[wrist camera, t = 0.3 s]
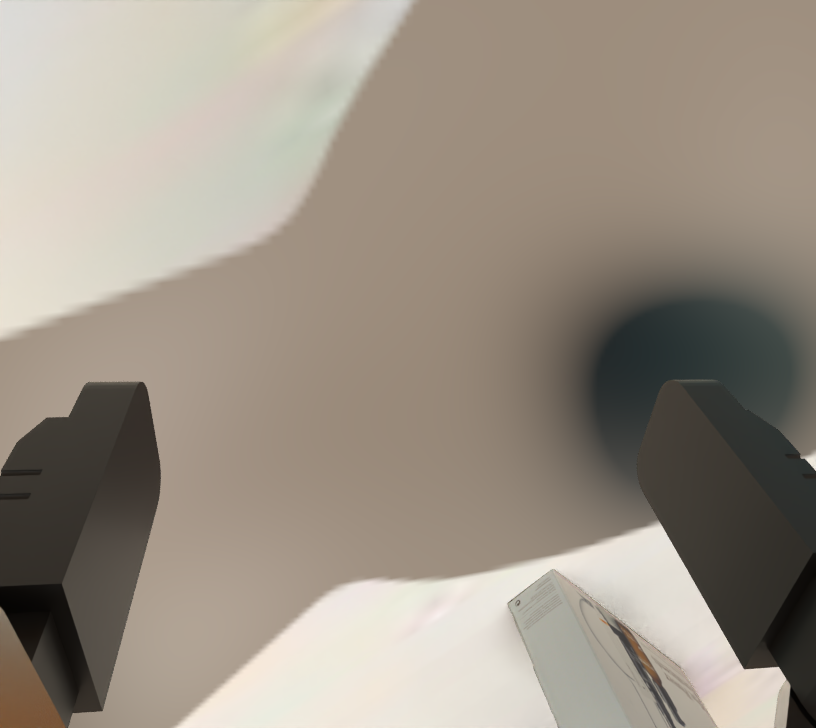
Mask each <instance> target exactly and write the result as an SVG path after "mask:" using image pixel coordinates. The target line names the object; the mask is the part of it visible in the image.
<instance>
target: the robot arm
mask: <svg viewBox="0 0 816 728" xmlns="http://www.w3.org/2000/svg"><path fill="white" fill-rule="evenodd" d="M637 474H638V480H639V484H640V486H641V489H642V491H643V493H644V495H645V497H646V498H647V500H648V502H649V504H650V505H651V507H652V509H653V511H654V512H655V514H656V516H657V518H658V519H659V521H660V523H661V525H662V526H663V528H664V530H665V532H666V533H667V535H668V537H669V539H670V540H671V542H672V544H673V546H674V547H675V549H676V551H677V553H678V554H679V556H680V558H681V560H682V561H683V563H684V565H685V567H686V568H687V570H688V572H689V574H690V575H691V577H692V579H693V581H694V582H695V584H696V586H697V588H698V589H699V591H700V593H701V595H702V596H703V598H704V600H705V602H706V603H707V605H708V607H709V609H710V610H711V612H712V614H713V616H714V617H715V619H716V621H717V623H718V624H719V626H720V628H721V630H722V631H723V633H724V635H725V637H726V638H727V640H728V642H729V644H730V645H731V647H732V649H733V651H734V652H735V654H736V656H737V658H738V659H739V661H740V663H741V665H742V666H743V668H744V669H754V668H768V667H779V668H780V669H781V671H782V672H783V674H784V676H785V677H786V681H785V682H784V684H783V685H782V687H781V689H780V691H779V694H778V699H777V707H776V715H775V723H774V728H816V471H815V470H814V468H813V467H812V466H811V465H810V464H809V463H808V462H807V461H806V460H805V459H801V458H800V453H799V452H798V451H797V450H796V449H795V448H794V446H793V445H792V444H791V443H790V442H789V441H788V440H787V439H786V438H785V437H784V435H783V434H782V433H781V432H780V431H779V430H778V429H776V428H775V427H773V426H772V425H770V424H769V423H767V422H766V421H764V420H763V419H761V418H760V417H758V416H757V415H755V414H754V413H752V412H751V411H749V410H745V409H744V408H743V407H742V405H740V403H739V402H738V401H737V400H736V399H735V398H734V397H733V395H732V394H731V393H730V392H729V391H728V390H727V388H726V387H725V386H724V385H723V384H722V383H721V382H719V381H717V380H669V381H667V382H665V383H664V385H663V386H662V387H661V389H660V391H659V394H658V397H657V400H656V403H655V406H654V408H653V411H652V414H651V417H650V420H649V423H648V426H647V429H646V432H645V435H644V438H643V441H642V444H641V447H640V450H639V453H638V458H637ZM160 479H161V472H160V460H159V454H158V448H157V442H156V437H155V431H154V425H153V419H152V414H151V407H150V401H149V396H148V391H147V388H146V386H145V384H144V383H143V382H88V383H86V385H84V387H83V389H82V391H81V393H80V395H79V397H78V399H77V401H76V403H75V405H74V407H73V409H72V411H71V413H70V415H69V417H56V418H46V419H45V420H43V421H42V422H41V423H40V424H38V425H37V426H36V427H35V428H34V429H32V430H31V431H30V432H29V433H28V434H26V435H25V436H24V437H23V438H21V439H20V440H19V441H18V442H17V443H16V445H15V447H14V449H13V450H12V452H11V454H10V456H9V457H8V459H7V461H6V463H5V465H4V466H3V468H2V470H1V476H0V728H68V726H69V723H70V719H71V716H72V713H81V712H96V711H103V707H104V704H105V700H106V696H107V692H108V688H109V685H110V681H111V677H112V674H113V670H114V666H115V662H116V659H117V655H118V651H119V647H120V644H121V640H122V636H123V632H124V629H125V625H126V621H127V618H128V614H129V610H130V606H131V602H132V599H133V595H134V591H135V588H136V584H137V580H138V576H139V573H140V569H141V565H142V561H143V558H144V554H145V550H146V546H147V543H148V539H149V535H150V531H151V528H152V523H153V520H154V516H155V512H156V509H157V505H158V501H159V494H160V481H161V480H160Z"/></svg>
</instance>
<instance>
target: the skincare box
mask: <svg viewBox="0 0 816 728" xmlns="http://www.w3.org/2000/svg"><path fill="white" fill-rule="evenodd" d="M508 606H509V609H510V611H511V613H512V616H513V618H514V621H515V623H516V626H517V628H518V630H519V633H520V635H521V637H522V640H523V642H524V644H525V647H526V649H527V651H528V654H529V656H530V658H531V661H532V663H533V668H534V671H535V673H536V676H537V678H538V680H539V683H540V685H541V687H542V690H543V692H544V695H545V697H546V699H547V702H548V704H549V707H550V709H551V712H552V714H553V715H554V718H555V720H556V723H557V725H558V728H718V727H717V725H716V724H715V722H714V721H713V719H712V717H711V716H710V714H709V713H708V711H707V709H706V708H705V706H704V704H703V703H702V701H701V700H700V698H699V696H698V695H697V693H696V692H695V690H694V688H693V687H692V685H691V683H690V682H689V680H688V679H687V677H686V675H685V674H684V672H683V671H682V669H681V668H679V667H678V666H677V665H676V664H674V663H673V662H672V661H670V660H669V659H668V658H667V657H666V656H664V655H663V654H662V653H660V652H659V651H658V650H657V649H655V648H654V647H653V646H652V645H650V644H649V643H648V642H646V641H645V640H644V639H643V638H641V637H640V636H639V635H637V634H636V633H635V632H634V631H632V630H631V629H630V628H629V627H627V626H626V625H625V624H623V623H622V622H621V621H620V620H618V619H617V618H616V617H615V616H613V615H612V614H611V613H609V612H608V611H607V610H606V609H604V608H603V607H602V606H600V605H599V604H598V603H596V602H595V601H594V600H593V599H591V598H590V597H589V596H588V595H586V594H585V593H584V592H583V591H581V590H580V589H579V588H577V587H576V586H575V585H573V584H572V583H571V582H570V581H568V580H567V579H566V578H564V577H563V576H562V575H561V574H559V573H558V572H557V571H556V570H554V569H552V570H550V571H549V572H548V573H546V574H545V575H544V576H543V577H541V578H540V579H539V580H537V581H536V582H535V583H534V584H532V585H531V586H530V587H529V588H527V589H526V590H525V591H524V592H522V593H521V594H520V595H519V596H517V597H516V598H515V599H513V600H512V601H511V602H509V603H508Z"/></svg>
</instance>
